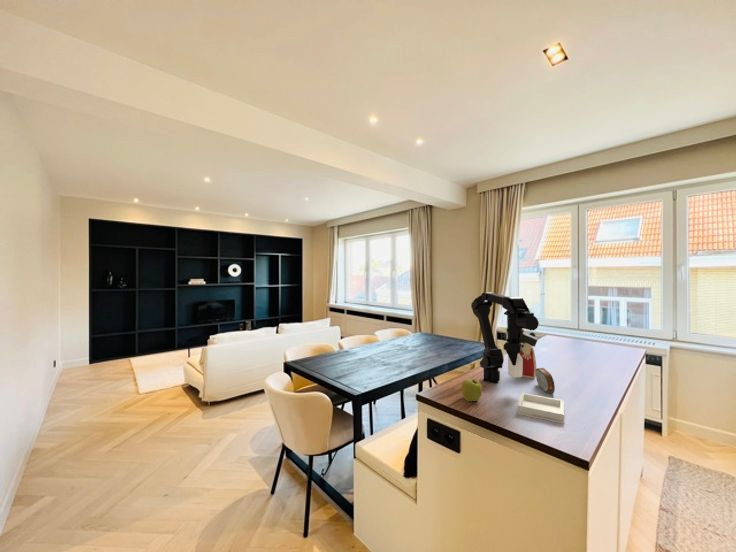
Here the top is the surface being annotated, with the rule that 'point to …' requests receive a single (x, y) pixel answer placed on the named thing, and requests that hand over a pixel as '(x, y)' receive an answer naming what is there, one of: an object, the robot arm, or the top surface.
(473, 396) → the apple
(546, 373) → the tin
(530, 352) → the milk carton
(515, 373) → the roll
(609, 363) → the top surface
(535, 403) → the tray
